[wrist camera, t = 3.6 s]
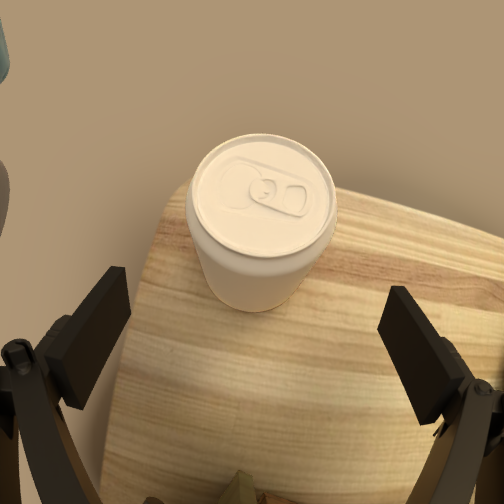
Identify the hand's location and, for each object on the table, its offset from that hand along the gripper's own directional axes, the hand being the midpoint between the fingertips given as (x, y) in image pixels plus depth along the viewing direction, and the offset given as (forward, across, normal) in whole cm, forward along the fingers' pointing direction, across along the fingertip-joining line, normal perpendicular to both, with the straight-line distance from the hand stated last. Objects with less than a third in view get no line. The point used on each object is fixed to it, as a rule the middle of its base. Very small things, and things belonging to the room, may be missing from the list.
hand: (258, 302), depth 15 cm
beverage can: (+11, 0, -4) cm, 12 cm away
